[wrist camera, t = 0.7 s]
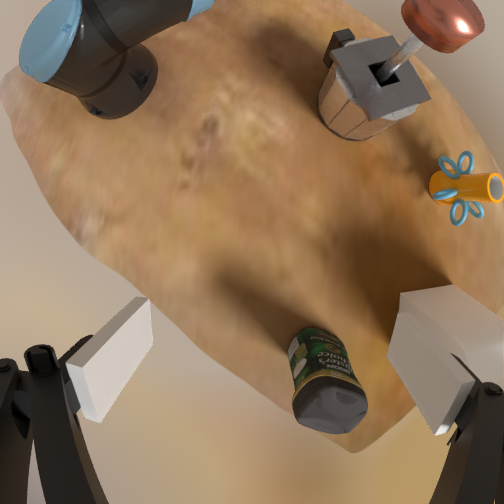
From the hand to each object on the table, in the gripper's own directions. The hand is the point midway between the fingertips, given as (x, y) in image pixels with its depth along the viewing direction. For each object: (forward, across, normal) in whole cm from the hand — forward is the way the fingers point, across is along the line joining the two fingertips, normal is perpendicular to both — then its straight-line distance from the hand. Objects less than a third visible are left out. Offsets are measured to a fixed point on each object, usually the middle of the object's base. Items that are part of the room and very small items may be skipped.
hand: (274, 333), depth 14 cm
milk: (+30, +30, -13) cm, 45 cm away
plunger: (+23, +12, +22) cm, 33 cm away
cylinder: (+31, +30, +11) cm, 44 cm away
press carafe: (+32, +11, +23) cm, 40 cm away
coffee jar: (+31, +10, -19) cm, 37 cm away
